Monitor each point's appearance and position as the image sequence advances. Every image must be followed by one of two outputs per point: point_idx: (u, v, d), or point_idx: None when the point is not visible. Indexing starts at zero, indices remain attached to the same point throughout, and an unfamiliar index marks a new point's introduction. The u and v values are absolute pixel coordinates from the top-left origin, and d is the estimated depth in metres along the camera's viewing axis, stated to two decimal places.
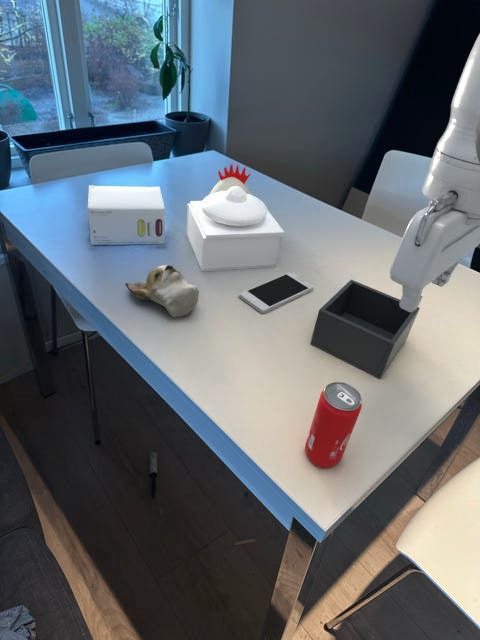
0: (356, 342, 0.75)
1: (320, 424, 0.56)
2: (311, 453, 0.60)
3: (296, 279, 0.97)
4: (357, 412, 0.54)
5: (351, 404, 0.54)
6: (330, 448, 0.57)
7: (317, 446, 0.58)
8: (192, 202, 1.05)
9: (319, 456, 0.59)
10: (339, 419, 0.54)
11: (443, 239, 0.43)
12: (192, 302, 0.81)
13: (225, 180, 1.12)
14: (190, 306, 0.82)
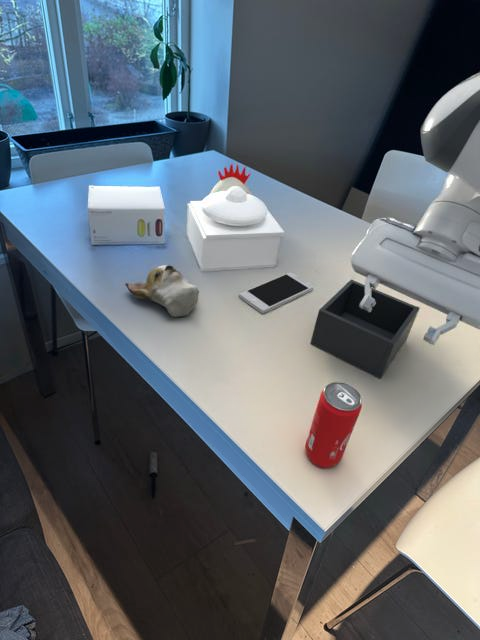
0: (356, 342, 0.75)
1: (320, 424, 0.56)
2: (311, 453, 0.60)
3: (296, 279, 0.97)
4: (357, 412, 0.54)
5: (351, 404, 0.54)
6: (330, 448, 0.57)
7: (317, 446, 0.58)
8: (192, 202, 1.05)
9: (319, 456, 0.59)
10: (339, 419, 0.54)
11: (377, 231, 0.63)
12: (192, 302, 0.81)
13: (225, 180, 1.12)
14: (190, 306, 0.82)
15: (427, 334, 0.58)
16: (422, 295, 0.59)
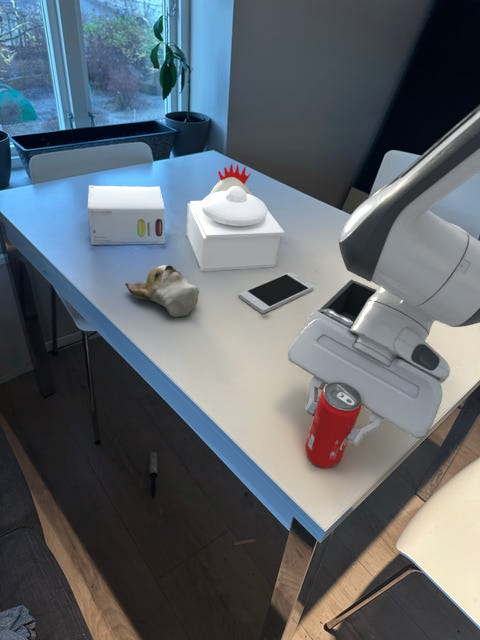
0: None
1: (320, 424, 0.56)
2: (311, 453, 0.60)
3: (296, 279, 0.97)
4: (357, 412, 0.54)
5: (351, 404, 0.54)
6: (330, 448, 0.57)
7: (317, 446, 0.58)
8: (192, 202, 1.05)
9: (319, 456, 0.59)
10: (339, 419, 0.54)
11: (314, 326, 0.61)
12: (192, 302, 0.81)
13: (225, 180, 1.12)
14: (190, 306, 0.82)
15: (350, 435, 0.56)
16: None
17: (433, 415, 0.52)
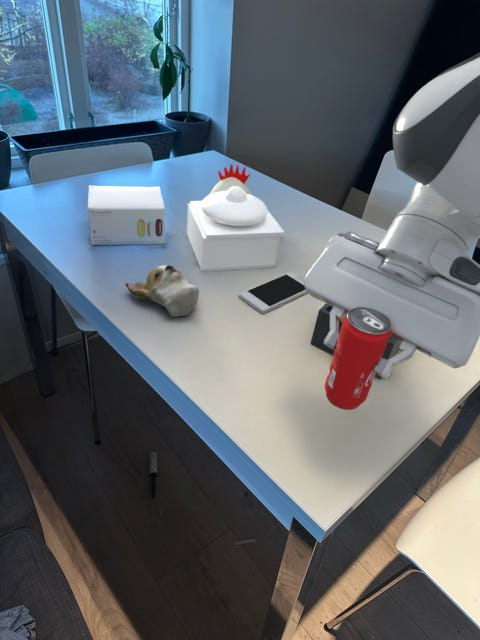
0: None
1: (343, 355, 0.49)
2: (332, 392, 0.53)
3: (296, 279, 0.97)
4: (387, 337, 0.47)
5: (380, 328, 0.47)
6: (355, 383, 0.50)
7: (339, 382, 0.51)
8: (192, 202, 1.05)
9: (341, 394, 0.52)
10: (366, 344, 0.47)
11: (334, 249, 0.54)
12: (192, 302, 0.81)
13: (225, 180, 1.12)
14: (190, 306, 0.82)
15: (377, 366, 0.49)
16: None
17: (476, 336, 0.45)
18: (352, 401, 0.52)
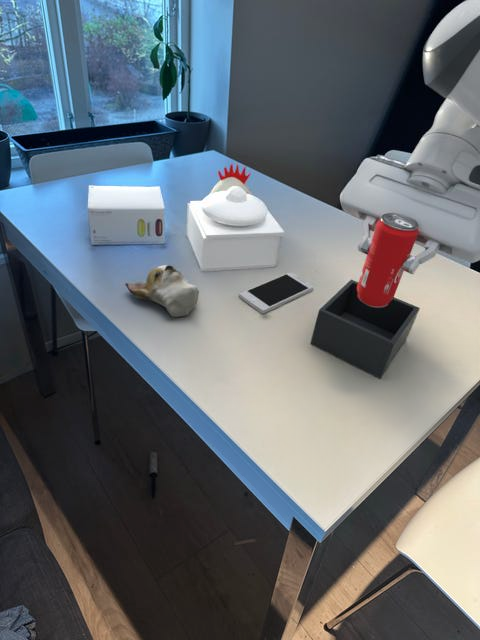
0: (356, 342, 0.75)
1: (377, 253, 0.57)
2: (364, 291, 0.61)
3: (296, 279, 0.97)
4: (415, 234, 0.55)
5: (409, 226, 0.55)
6: (385, 279, 0.59)
7: (371, 279, 0.60)
8: (192, 202, 1.05)
9: (373, 291, 0.60)
10: (398, 240, 0.55)
11: (367, 168, 0.62)
12: (192, 302, 0.81)
13: (225, 180, 1.12)
14: (190, 306, 0.82)
15: (406, 262, 0.57)
16: None
17: None
18: (382, 297, 0.60)
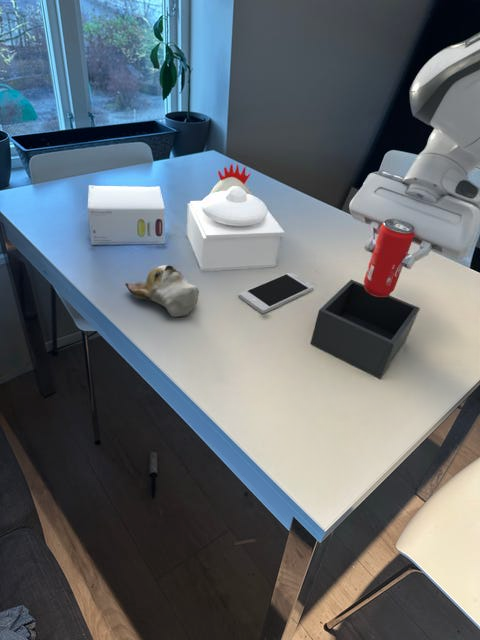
0: (356, 342, 0.75)
1: (380, 251, 0.70)
2: (370, 283, 0.74)
3: (296, 279, 0.97)
4: (411, 236, 0.68)
5: (407, 230, 0.68)
6: (387, 273, 0.71)
7: (376, 273, 0.72)
8: (192, 202, 1.05)
9: (377, 283, 0.73)
10: (398, 241, 0.68)
11: (371, 182, 0.75)
12: (192, 302, 0.81)
13: (225, 180, 1.12)
14: (190, 306, 0.82)
15: (404, 259, 0.70)
16: None
17: (473, 233, 0.66)
18: (385, 288, 0.73)
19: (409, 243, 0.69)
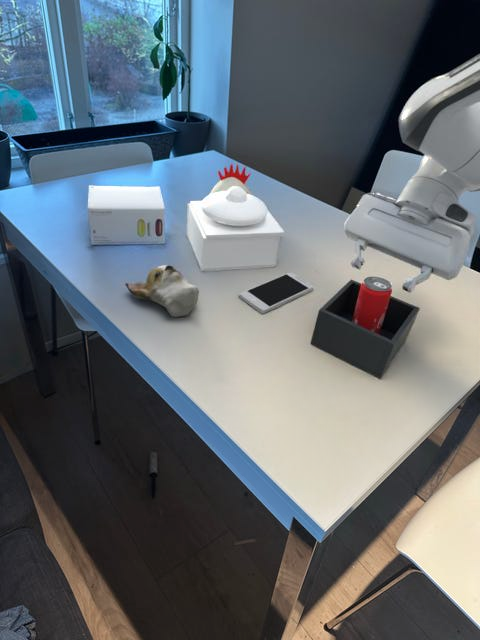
0: (356, 342, 0.75)
1: (362, 307, 0.77)
2: None
3: (296, 279, 0.97)
4: (389, 293, 0.75)
5: (384, 287, 0.75)
6: (370, 326, 0.78)
7: None
8: (192, 202, 1.05)
9: None
10: (377, 298, 0.74)
11: (365, 203, 0.77)
12: (192, 302, 0.81)
13: (225, 180, 1.12)
14: (190, 306, 0.82)
15: (405, 283, 0.71)
16: (401, 253, 0.72)
17: (463, 255, 0.68)
18: None
19: (387, 299, 0.75)
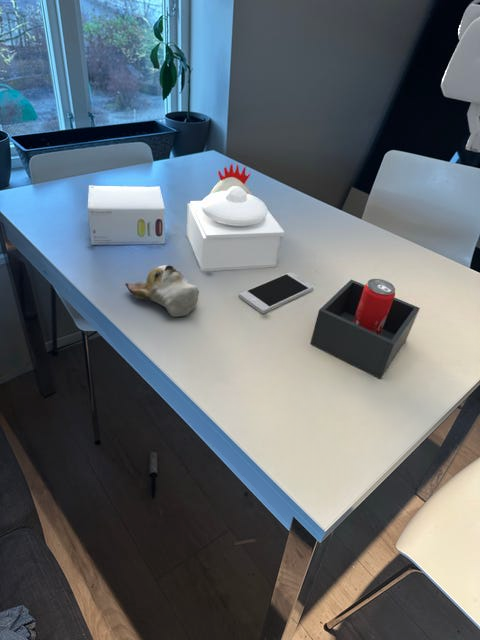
0: (356, 342, 0.75)
1: (364, 309, 0.76)
2: None
3: (296, 279, 0.97)
4: (392, 297, 0.74)
5: (388, 291, 0.74)
6: (371, 328, 0.78)
7: None
8: (192, 202, 1.05)
9: None
10: (380, 301, 0.74)
11: (474, 34, 0.43)
12: (192, 302, 0.81)
13: (225, 180, 1.12)
14: (190, 306, 0.82)
15: None
16: None
17: None
18: None
19: (390, 302, 0.75)
